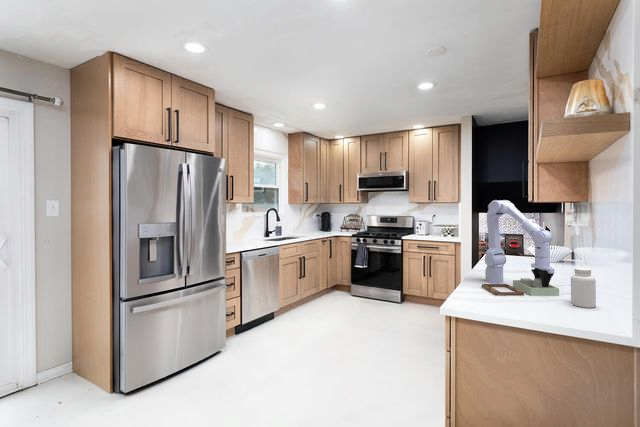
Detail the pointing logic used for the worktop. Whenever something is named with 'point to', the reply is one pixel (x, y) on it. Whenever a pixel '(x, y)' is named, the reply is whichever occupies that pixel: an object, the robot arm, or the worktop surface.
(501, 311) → the worktop surface
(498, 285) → the walnut tray
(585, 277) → the pill bottle
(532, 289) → the green bin
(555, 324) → the worktop surface
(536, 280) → the stone
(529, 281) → the grey rectangular block
